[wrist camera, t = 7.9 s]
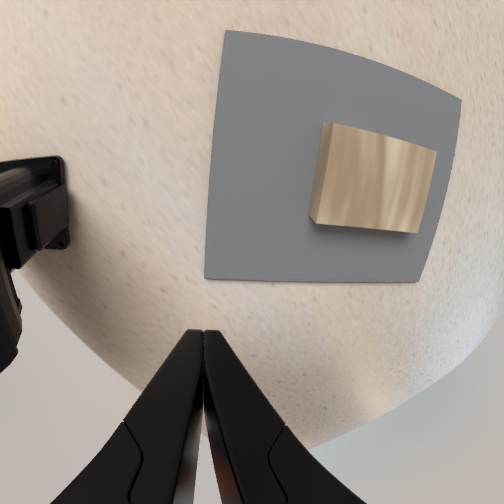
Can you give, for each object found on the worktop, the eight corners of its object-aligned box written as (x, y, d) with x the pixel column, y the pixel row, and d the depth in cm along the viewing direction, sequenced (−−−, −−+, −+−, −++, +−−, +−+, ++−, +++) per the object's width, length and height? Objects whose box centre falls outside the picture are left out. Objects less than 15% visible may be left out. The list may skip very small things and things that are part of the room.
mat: (204, 275, 20) (204, 278, 20) (225, 31, 13) (225, 30, 13) (416, 279, 23) (418, 281, 23) (458, 99, 16) (461, 99, 16)
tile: (316, 223, 17) (417, 233, 18) (333, 123, 15) (436, 151, 16) (308, 214, 19) (405, 224, 20) (322, 122, 16) (422, 147, 17)
